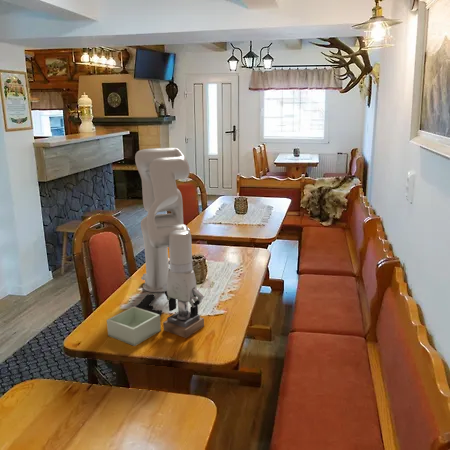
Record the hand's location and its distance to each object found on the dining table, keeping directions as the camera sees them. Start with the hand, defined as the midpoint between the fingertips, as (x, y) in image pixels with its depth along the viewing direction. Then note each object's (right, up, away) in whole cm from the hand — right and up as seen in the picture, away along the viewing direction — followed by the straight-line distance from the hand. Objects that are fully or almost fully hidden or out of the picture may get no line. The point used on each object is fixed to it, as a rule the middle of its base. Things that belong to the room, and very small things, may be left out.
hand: (183, 312), depth 162 cm
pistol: (-14, -2, +17) cm, 22 cm away
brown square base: (0, -6, +2) cm, 6 cm away
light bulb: (0, -3, +1) cm, 3 cm away
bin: (-17, -7, -1) cm, 18 cm away
